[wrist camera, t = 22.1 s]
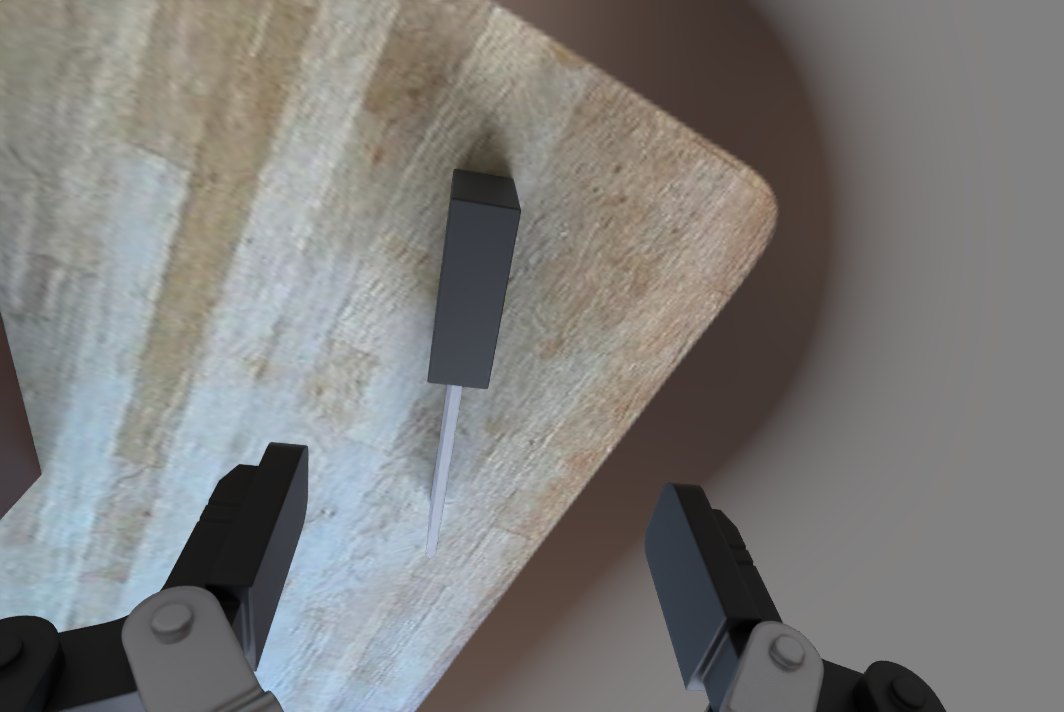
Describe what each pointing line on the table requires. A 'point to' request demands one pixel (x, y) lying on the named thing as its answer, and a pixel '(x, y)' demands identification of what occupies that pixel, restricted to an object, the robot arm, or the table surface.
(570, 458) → the table surface
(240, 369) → the table surface
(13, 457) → the cake
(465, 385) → the knife
